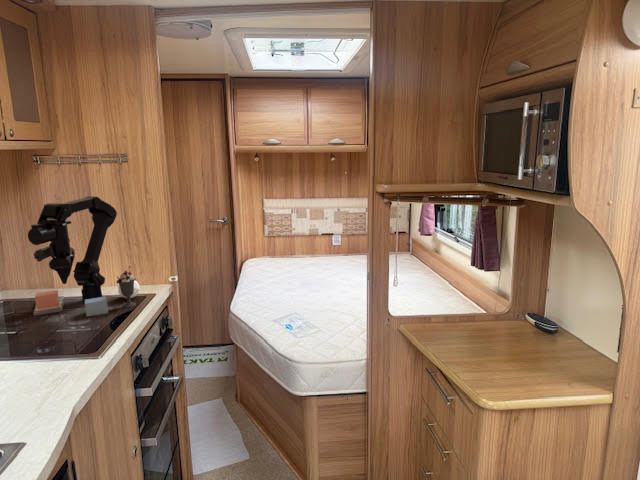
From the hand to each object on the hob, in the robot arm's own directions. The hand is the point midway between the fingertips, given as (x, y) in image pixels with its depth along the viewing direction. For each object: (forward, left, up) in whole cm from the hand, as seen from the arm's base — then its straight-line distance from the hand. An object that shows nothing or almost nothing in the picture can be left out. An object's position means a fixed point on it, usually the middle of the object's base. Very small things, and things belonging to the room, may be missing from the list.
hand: (66, 280), depth 162 cm
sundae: (-20, +5, -12) cm, 24 cm away
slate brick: (-9, +7, -12) cm, 16 cm away
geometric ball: (-21, -4, -12) cm, 24 cm away
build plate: (+7, -9, -12) cm, 17 cm away
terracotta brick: (+7, -6, -11) cm, 14 cm away
